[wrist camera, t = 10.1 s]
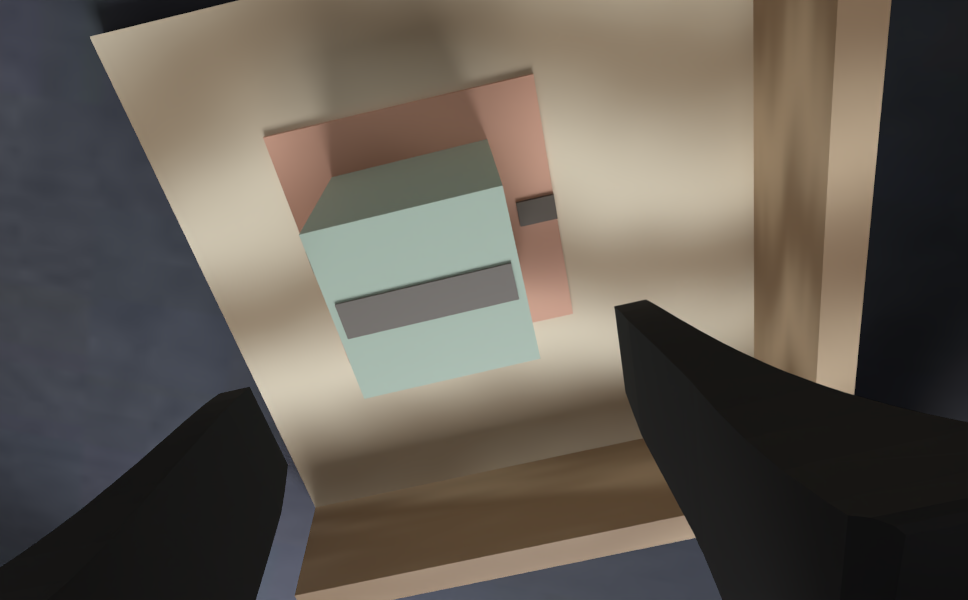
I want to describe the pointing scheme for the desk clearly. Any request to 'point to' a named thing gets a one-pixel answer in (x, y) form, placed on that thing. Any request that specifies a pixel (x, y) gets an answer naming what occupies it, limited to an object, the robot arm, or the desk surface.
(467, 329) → the sage cube
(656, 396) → the robot arm
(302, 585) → the tray
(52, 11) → the desk surface
